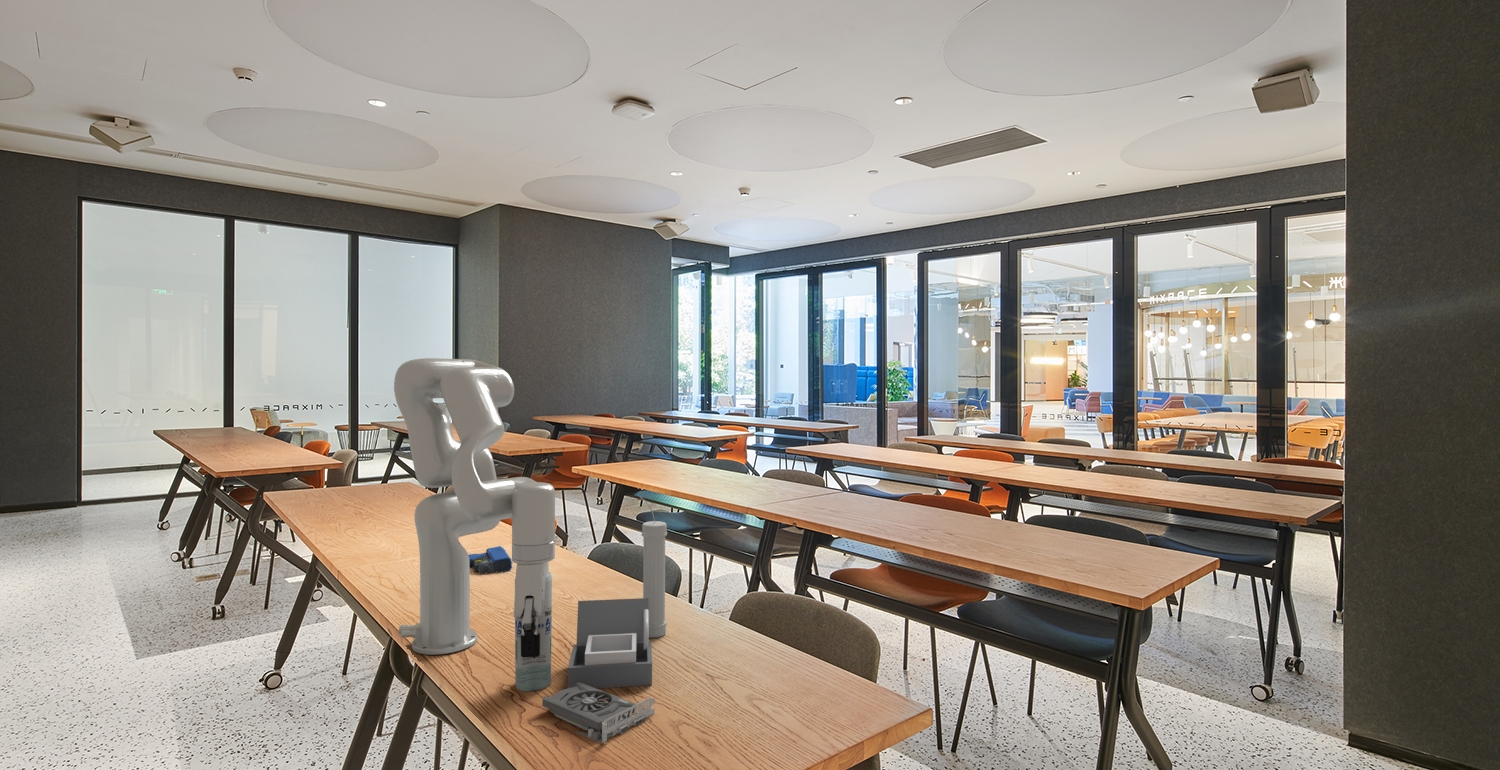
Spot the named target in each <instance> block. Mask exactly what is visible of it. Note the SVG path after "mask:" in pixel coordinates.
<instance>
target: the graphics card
mask: <svg viewBox="0 0 1500 770" xmlns="http://www.w3.org/2000/svg"><path fill="white" fill-rule="evenodd" d="M654 704H655V697H653V698H652V697H648V698H646V699H644V700H642V701H640V702H638V703H635V702H632V701H629V700H627V699H625V698H621V697H619V696H616V695H614V694H611V693H608V692H607V691H603V690H601V689H599V688H593V687H591V686H588V685H585V684H583V683H576V686H575V687H572V688H568V687H567V688H565V689H561V690H560V691H558V692H557V693H555V694H553V695H551V696H549V697H547V696H543V697H542V704H541V705H542V707H544V708H546V709H549V712H550V713H552V714H553V715H554V717H557V718H558V719H561V720H563V721H565V722H567V723H569V724H571V725H574V726H576V727H578V728H580V729H582V730H585V731H587V732H585V731H584V732H583V731H577V730H576V731H574V732H575V733H576V734H579V735H581V736H582V737H585V738H588V739H590V740H592V741H594V742H596V743H602V744H604V745H607V741H608V740H609V739H610V738H612V737H614V736H616V735H617V734H620V735H622V734H624V733H626V732H627V731H628V729H629V728H630V727H632V726H634V727H636V726H639V725H640V724H642V723H645V722H646V719H647V718H649V717H651V716H652V715H654V714H655V707H654V708H652V706H654ZM637 709H638V710H637Z"/></svg>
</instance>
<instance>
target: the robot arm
mask: <svg viewBox="0 0 1500 770" xmlns="http://www.w3.org/2000/svg"><path fill="white" fill-rule="evenodd" d="M393 391H394V397H395V401H396V404H397V406H398V410H399V412H400V414H401V416H402V419H403V420H404V423H405V425H406V429H407V433H408V440H409V446H410V452H411V453H410V454H411V457H412V463H413V469H414V473H415V477H416V480H417V482H418V483H419V485H420V486H422V487H425V488H428V489H431V488H432V489H434V488H435V489H436V488H445V487H446V488H447V487H453V491H447V492H439V493H435V494H431V495H429V496H426V497H425V498H423V499H421V500H420V501H419V503H418V504H417V505H416V507H415V510H414V523H415V525H414V526H415V529H416V534H417V539H418V548H419V549H418V550H419V622H417V623H416V624H412V625H411V624H400V625H399V627H398V634H399V635H400V637H401V638H402V639H403V638H413V640H411V649H412V650H413V652H415V653H417V654H420V655H428V656H429V655H432V656H433V655H434V656H435V655H447V654H451V653H456V652H460V651H463V650H465V649H467V648H470V647H472V646H473V645H474V644H475V643H476V642H477V641H478V632H477V631H475V630H474V629H471V628H470V626H471V625H470V623H471V622H470V621H471V620H470V617H471V616H470V614H471V612H470V611H471V609H470V605H471V604H470V603H471V602H470V593H471V592H470V591H471V590H470V586H471V585H470V584H471V583H470V582H471V581H470V575H471V573H470V568H471V567H469V556H468V555H469V553H468V552H467V551H468V550H467V549H466V548H465V547H464V546H463V544H461V542H460V540H459V538H461V537H465V536H469V535H473V534H480V533H484V532H488V531H491V530H493V529H495V528H496V527H497V526H499V524H500V523H501V520H506V519H507V520H508V519H511V562H512V563H513V564H514V563H515V564H516V569H515V578H514V601H513V602H514V603H513V604H514V608H513V618H514V620H515V619H518V618H520V617H521V615H522V612H523V617H522V633H521V657H538V656H539V655H540V633H538V628H539V618H540V617H541V616H542V615H543V611H544V604H545V587H546V577H547V575H548V573H549V572H550V567H549V566H550V563H549V562H551V561H553V560H555V558H556V490H555V487H554V486H553V485H552V484H551V483H548V482H541V481H536V480H534V479H532V478H530V477H527V476H517V477H516V476H515V477H509V478H499V479H498V478H497V477H498V476H497V472H496V468H495V463H494V459H493V455H492V452H491V450H490V449H489V448H491V447H492V446H494V445H495V444H497V442H499V441H500V440H501V439H502V437H503V435H504V433H505V425H504V423H503V421H502V418H501V416H500V414H499V411H498V410H497V409H498V408H503V407H506V406H508V405H509V404H511V402H512V401H513V399H514V396H515V384H514V381H513V380H512V377H511V376H510V374H509V373H508V372H507V371H506V370H505V369H504V368H502V367H498V366H495V365H494V364H489V363H487V362H483V361H479V360H477V359H465V358H438V357H437V358H436V357H435V358H433V357H431V358H429V357H427V358H425V357H424V358H416V359H414V358H413V359H410V360H407V361H405V362H404V363H402V364H401V365H399V367H398V368H397V370H396V373H395V375H394V382H393ZM433 399H443V401H444V403H445V406H446V408H447V411H448V415H449V416H448V415H447V413H445V411H444V410H443V409H442V407H440V406H439V405H438V404H437V403H435V402H434V401H433ZM449 417H450V418H451V421H450V419H449ZM451 422H452V423H453V426H454V429H455V431H456V434H457V437H458V439H459V440H456V439H455V438H454V434H453V428H452V423H451ZM533 603H534V604H533ZM532 612H536V616H532ZM532 620H535V625H534V623H532ZM534 626H535V627H534Z"/></svg>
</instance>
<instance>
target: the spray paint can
mask: <svg viewBox="0 0 1500 770" xmlns="http://www.w3.org/2000/svg"><path fill="white" fill-rule="evenodd" d="M552 601H553V576H552V573H551V572H550V571H549V573H548V575H547V577H546V587H545V604H544V611H543V615H542V616H541V617H540V618H539V628H538V633H540V655H539V656H538V657H521V633H522V617H523V612H522V615H521V617H520V618H518V619H515V618H514V644H515V645H514V649H515V651H514V652H515V653H514V655H515V656H514V660H515V661H514V662H515V668H514V669H515V670H514V671H515V674H514V675H515V677H514V679H515V682H514V683H515V687H516V689H517V690H519V691H522V692H537V691H539V690H544V689H545V688H547V687H549V686H550V684H551V681H552V618H553V617H552V612H553V611H552V610H553V605H552V604H553V602H552ZM533 604H534V603H533ZM532 616H536V612H532ZM532 623H534V625H535V620H532ZM534 627H535V626H534Z"/></svg>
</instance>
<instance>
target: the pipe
mask: <svg viewBox="0 0 1500 770" xmlns="http://www.w3.org/2000/svg"><path fill="white" fill-rule="evenodd" d="M639 498H640V499H641V500H642V501H644V502H645V503H646V504H647V506H648V507H649V509H650V511H651V513H652V518H653V520H652V521H646V522H644V523H642V525H641V527H642V528H641V536H642V537H643V538H642V539H643V548H642V549H643V551H642V552H643V555H642V556H643V564H642V566H643V567H642V568H643V572H642V573H643V577H642V578H643V579H642V580H643V581H642V582H643V583H642V591H643V592H642V598H649V638H650V639H651V638H652V639H653V638H660V637H663V636H664V635H665V634H666V633H667V624H668V621H667V620H666V613H665V612H666V601H665V600H666V537H667V535H668V531H667V523H666V522H664V521H658V520H656V519H655V515H654V511H653V510H652V507H651V506H650V504H649V503H648V501H646V500H645V499H644V498H643V497H641V496H639Z"/></svg>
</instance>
